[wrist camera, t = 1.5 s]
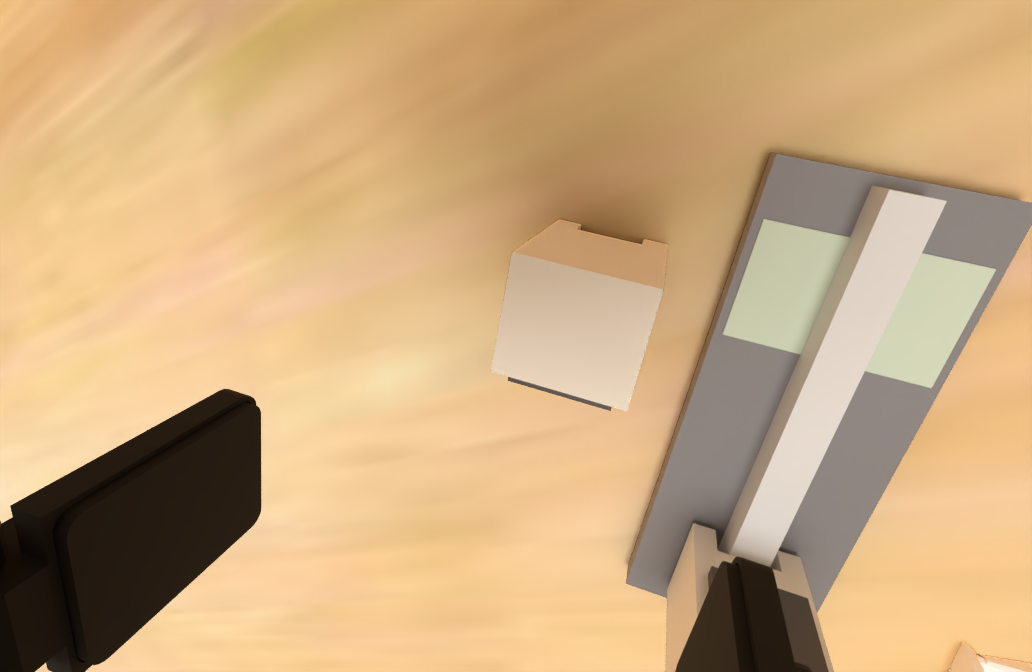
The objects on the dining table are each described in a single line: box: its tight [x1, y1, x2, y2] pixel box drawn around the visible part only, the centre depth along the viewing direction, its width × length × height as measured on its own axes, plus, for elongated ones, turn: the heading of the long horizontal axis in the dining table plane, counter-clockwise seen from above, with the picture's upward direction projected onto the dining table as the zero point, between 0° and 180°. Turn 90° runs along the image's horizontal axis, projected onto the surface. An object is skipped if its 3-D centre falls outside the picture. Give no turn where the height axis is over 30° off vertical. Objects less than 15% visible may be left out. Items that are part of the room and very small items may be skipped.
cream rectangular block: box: [491, 219, 668, 411], centre depth 24 cm, size 6×6×9 cm
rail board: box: [626, 153, 1032, 672], centre depth 23 cm, size 25×10×11 cm, turn 170°
